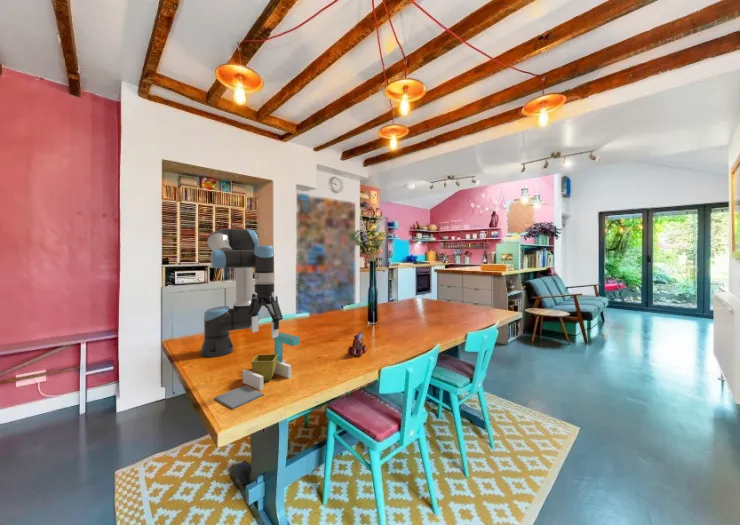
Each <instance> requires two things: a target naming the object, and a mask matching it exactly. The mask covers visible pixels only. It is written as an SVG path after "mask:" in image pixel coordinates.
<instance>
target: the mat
mask: <svg viewBox="0 0 740 525" xmlns="http://www.w3.org/2000/svg"><path fill="white" fill-rule="evenodd" d="M264 396H265V393H263V392H261V391H260V390H258V389H257V390H256V388H253V387H251V386H249V385H247V384H244V385H242V386H240V387H236V388H235V389H231V390H230V391H227V392H225V393H223V394H219V395H216V396H214V398H213V399H214V400H216V401H217V402H219V403H221V404H222V405H224V406H226V407H228V408H230V409H231V410H235V409H237V408H240V407H241V406H244V405H245V404H249V403H250V402H252V401H255V400H257V399H259V398H261V397H264Z"/></svg>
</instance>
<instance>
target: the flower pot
mask: <svg viewBox="0 0 740 525" xmlns="http://www.w3.org/2000/svg"><path fill="white" fill-rule="evenodd" d="M277 358H278V354H275V353H270V354H269V353H267V354H266V353H264V354H262V353H261V354H259V353H258V354H257V355H256V356H254V358H253V359H252V360H251V362H250V363H251V371H253V372H254V373H257V374H259V375H262V376H263V380H264V382H269V381H271V380H272V378H273V376H274V375H275V373H274V372H275V370H276V366H277Z"/></svg>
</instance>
